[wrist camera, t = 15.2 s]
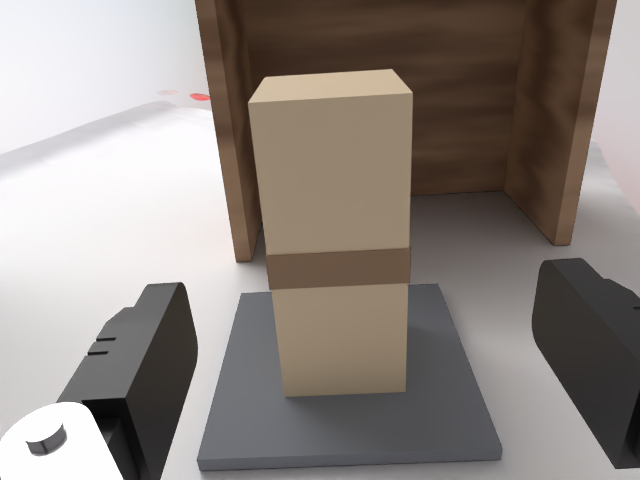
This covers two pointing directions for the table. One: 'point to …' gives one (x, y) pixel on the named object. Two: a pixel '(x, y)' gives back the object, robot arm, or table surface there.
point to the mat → (347, 402)
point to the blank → (336, 226)
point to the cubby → (426, 90)
